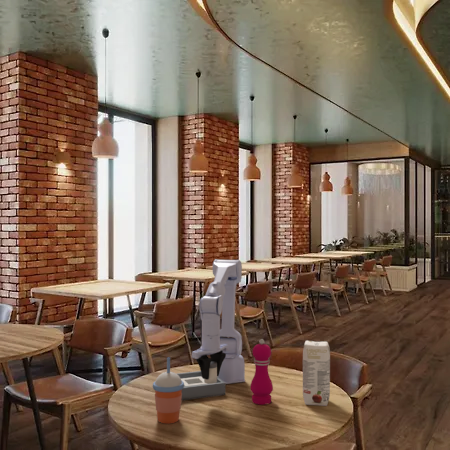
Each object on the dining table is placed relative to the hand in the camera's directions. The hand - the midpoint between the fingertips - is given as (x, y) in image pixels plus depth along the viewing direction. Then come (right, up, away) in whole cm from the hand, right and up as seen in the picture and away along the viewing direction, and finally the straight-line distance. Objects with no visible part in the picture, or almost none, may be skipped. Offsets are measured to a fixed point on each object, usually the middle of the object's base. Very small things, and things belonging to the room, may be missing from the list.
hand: (210, 377), depth 160 cm
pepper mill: (+16, -9, +2) cm, 19 cm away
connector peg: (0, -1, 0) cm, 1 cm away
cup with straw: (-12, -9, -13) cm, 20 cm away
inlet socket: (-6, -8, +13) cm, 16 cm away
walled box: (-6, -8, +13) cm, 16 cm away
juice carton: (+34, -9, +2) cm, 35 cm away
